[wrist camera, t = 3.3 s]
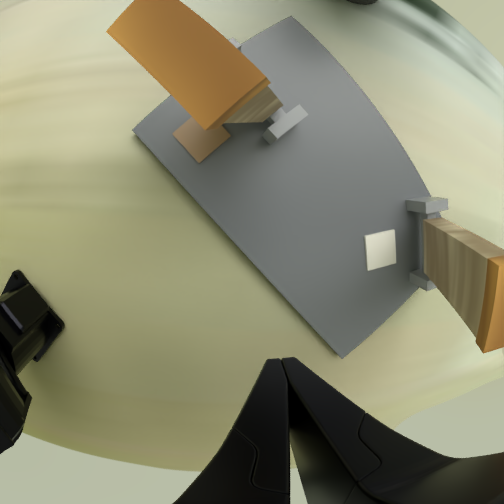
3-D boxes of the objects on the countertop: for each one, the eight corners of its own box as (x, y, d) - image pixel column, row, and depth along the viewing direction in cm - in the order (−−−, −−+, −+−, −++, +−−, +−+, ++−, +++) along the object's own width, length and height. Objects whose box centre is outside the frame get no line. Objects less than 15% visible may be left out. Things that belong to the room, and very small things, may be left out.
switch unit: (338, 354, 22) (353, 375, 19) (135, 132, 17) (119, 122, 13) (448, 244, 21) (472, 252, 18) (289, 20, 16) (299, -2, 12)
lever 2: (422, 273, 18) (483, 353, 9) (421, 218, 17) (499, 265, 8) (442, 270, 18) (510, 344, 8) (442, 216, 17) (526, 259, 7)
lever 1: (262, 124, 15) (205, 130, 6) (214, 75, 14) (105, 31, 5) (286, 105, 14) (266, 77, 5) (237, 55, 13) (153, -18, 4)
